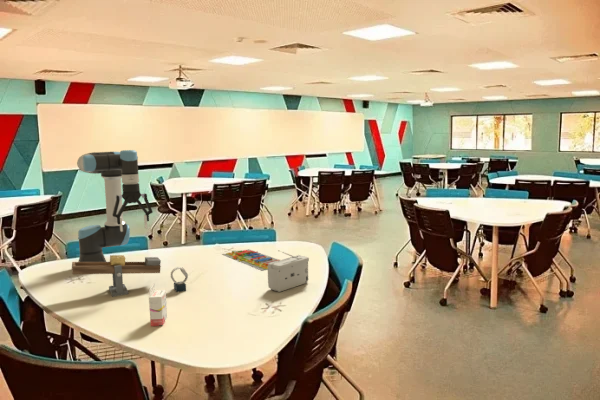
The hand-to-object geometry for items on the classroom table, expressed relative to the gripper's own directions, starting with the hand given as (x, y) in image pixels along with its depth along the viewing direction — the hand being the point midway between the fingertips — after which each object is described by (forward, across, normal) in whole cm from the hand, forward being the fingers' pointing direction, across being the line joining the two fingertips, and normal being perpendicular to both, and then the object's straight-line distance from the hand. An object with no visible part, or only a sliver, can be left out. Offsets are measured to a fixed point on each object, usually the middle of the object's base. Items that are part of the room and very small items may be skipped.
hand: (133, 229), depth 219 cm
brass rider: (+17, -9, 0) cm, 19 cm away
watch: (+29, +17, -13) cm, 36 cm away
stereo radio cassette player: (+29, +64, -36) cm, 79 cm away
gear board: (+30, +69, +18) cm, 77 cm away
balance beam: (+19, -9, 0) cm, 21 cm away
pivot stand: (+29, -9, 0) cm, 30 cm away
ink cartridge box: (+29, 0, -47) cm, 55 cm away
